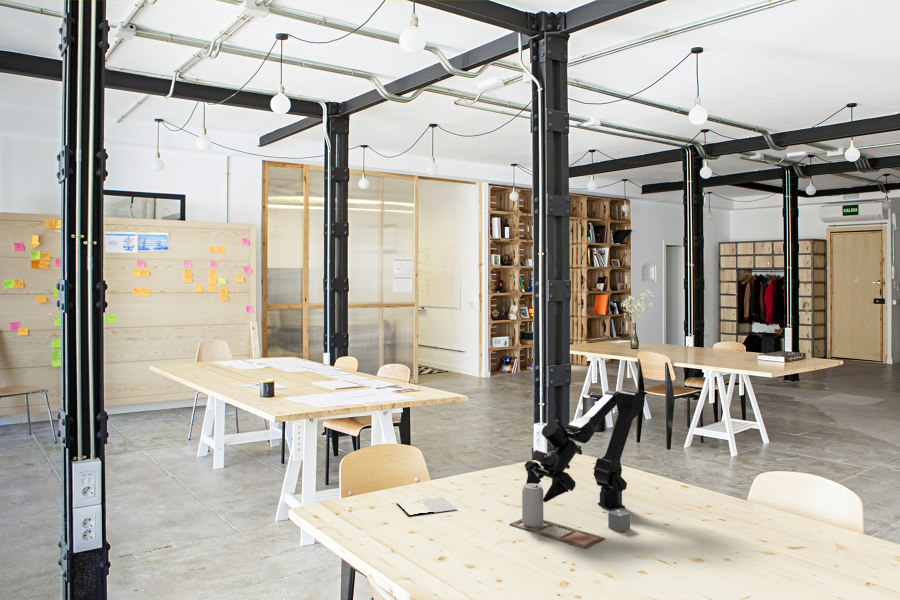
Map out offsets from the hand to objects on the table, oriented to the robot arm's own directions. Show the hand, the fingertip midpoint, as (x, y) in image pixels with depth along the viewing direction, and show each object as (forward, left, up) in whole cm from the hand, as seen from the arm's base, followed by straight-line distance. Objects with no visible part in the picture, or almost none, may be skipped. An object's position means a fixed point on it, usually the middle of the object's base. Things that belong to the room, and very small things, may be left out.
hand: (534, 497), depth 197 cm
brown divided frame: (-3, +8, -8) cm, 12 cm away
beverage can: (0, 0, -8) cm, 8 cm away
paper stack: (+29, -23, -9) cm, 38 cm away
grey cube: (-22, +12, -8) cm, 27 cm away
